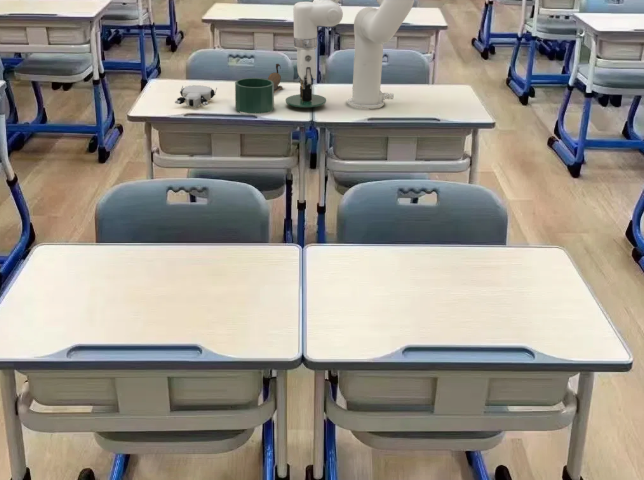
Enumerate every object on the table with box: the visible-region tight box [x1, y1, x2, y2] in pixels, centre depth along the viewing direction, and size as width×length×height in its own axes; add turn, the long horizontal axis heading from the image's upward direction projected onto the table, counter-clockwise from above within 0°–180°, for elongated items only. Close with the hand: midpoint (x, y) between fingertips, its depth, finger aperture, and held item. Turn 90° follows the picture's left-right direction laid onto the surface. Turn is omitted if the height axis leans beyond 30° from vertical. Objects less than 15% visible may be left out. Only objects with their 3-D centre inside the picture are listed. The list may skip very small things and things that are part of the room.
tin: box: [234, 77, 275, 115], centre depth 270 cm, size 13×13×9 cm
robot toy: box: [174, 84, 218, 108], centre depth 276 cm, size 12×4×15 cm
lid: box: [285, 84, 327, 108], centre depth 273 cm, size 14×14×6 cm
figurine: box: [267, 63, 284, 94], centre depth 293 cm, size 14×4×9 cm, turn 163°
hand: (305, 98), depth 274 cm, fingers closed on lid, 2 cm apart
